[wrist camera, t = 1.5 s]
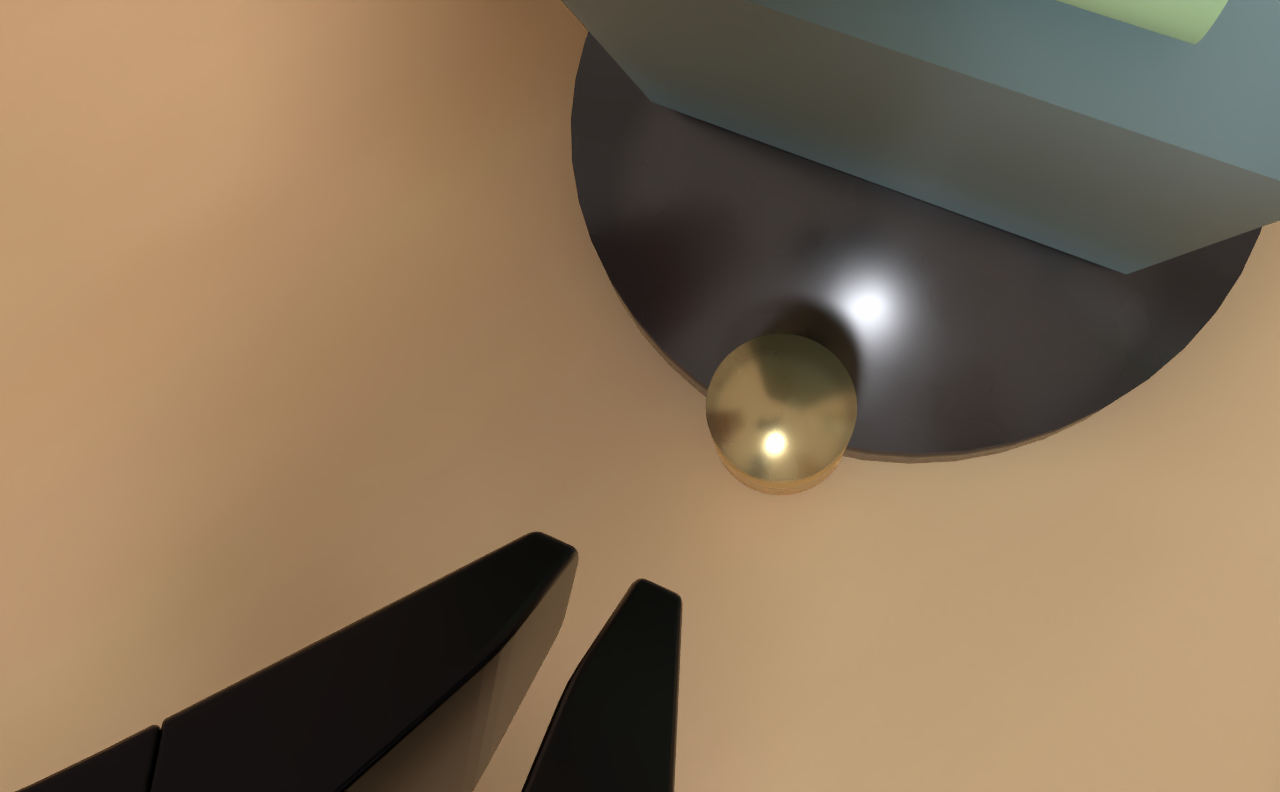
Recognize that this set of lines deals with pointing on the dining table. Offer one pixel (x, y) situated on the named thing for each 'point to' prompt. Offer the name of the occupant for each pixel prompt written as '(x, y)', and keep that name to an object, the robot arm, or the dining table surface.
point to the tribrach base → (857, 298)
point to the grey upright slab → (993, 105)
